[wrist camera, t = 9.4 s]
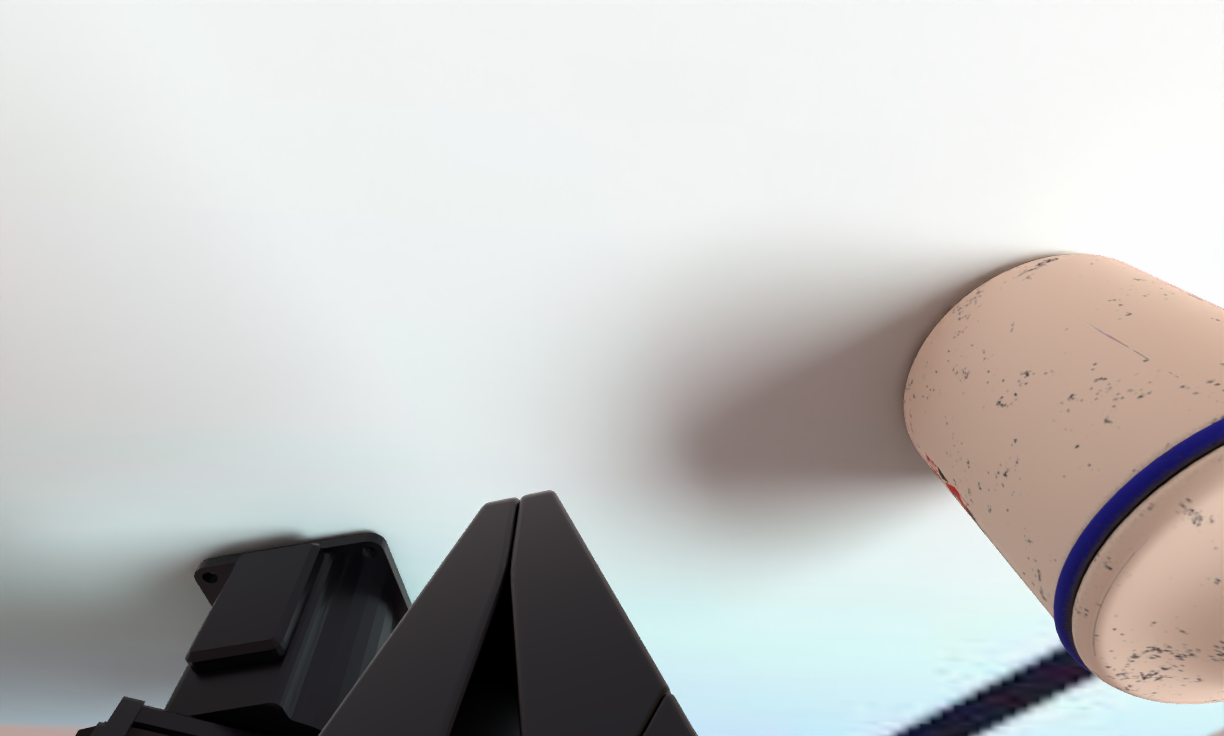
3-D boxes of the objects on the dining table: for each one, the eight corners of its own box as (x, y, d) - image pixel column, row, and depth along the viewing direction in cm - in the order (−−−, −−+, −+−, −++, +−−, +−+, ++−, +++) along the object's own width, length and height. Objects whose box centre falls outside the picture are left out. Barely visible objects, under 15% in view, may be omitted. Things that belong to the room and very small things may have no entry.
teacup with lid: (852, 467, 24) (1079, 817, 14) (961, 220, 20) (1405, 462, 9) (1139, 496, 26) (1522, 820, 16) (1293, 277, 22) (1955, 528, 11)
